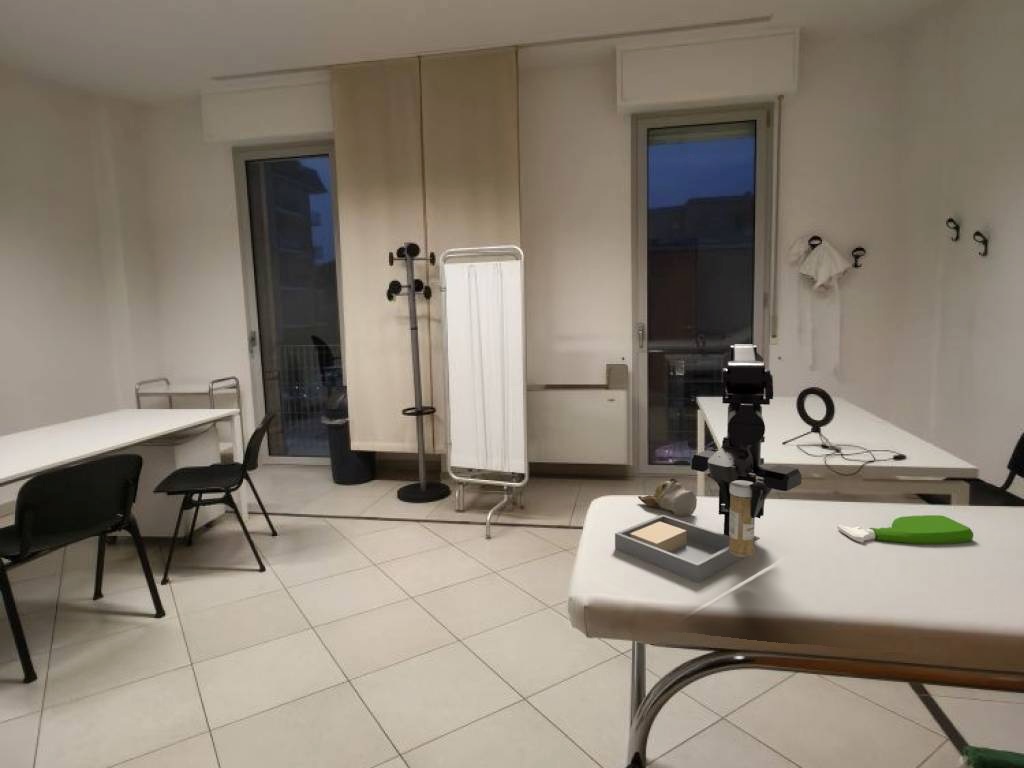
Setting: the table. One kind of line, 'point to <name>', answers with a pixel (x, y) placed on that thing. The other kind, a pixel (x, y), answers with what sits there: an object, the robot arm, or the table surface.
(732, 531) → the sprinkles bottle
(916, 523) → the spray bottle
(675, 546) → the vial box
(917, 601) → the table surface
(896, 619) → the table surface
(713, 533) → the tote
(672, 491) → the ceramic sculpture
